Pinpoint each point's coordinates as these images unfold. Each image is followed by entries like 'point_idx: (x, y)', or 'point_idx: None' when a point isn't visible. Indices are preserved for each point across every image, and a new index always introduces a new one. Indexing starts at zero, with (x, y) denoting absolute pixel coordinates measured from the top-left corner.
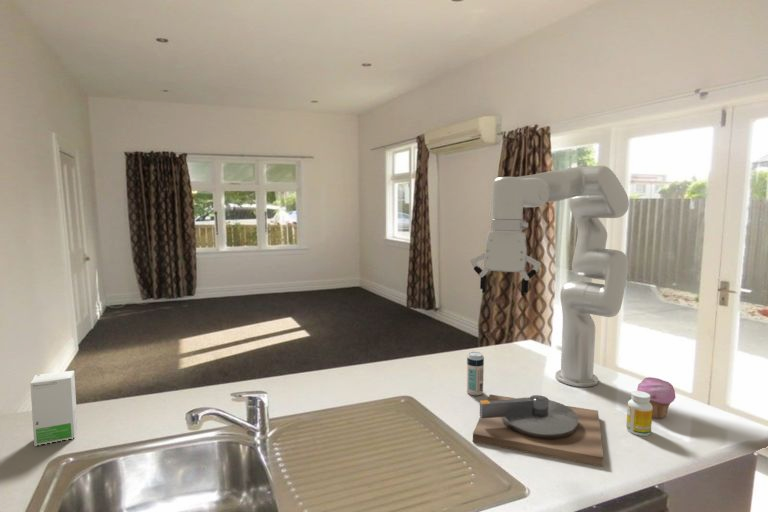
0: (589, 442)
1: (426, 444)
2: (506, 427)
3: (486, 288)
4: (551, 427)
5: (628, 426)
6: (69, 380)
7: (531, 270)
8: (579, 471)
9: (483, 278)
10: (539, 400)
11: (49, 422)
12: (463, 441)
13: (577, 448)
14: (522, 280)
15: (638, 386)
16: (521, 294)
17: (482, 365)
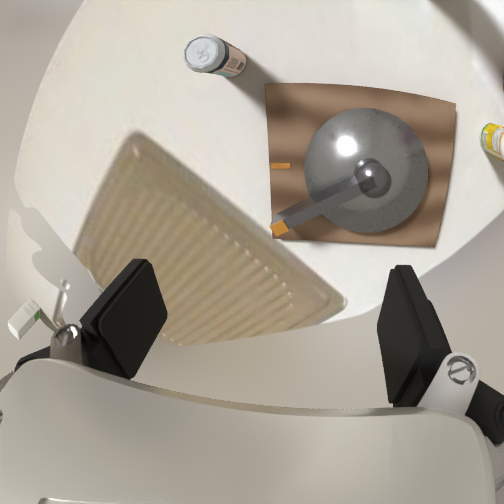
0: (429, 214)
1: (221, 255)
2: None
3: (146, 287)
4: (385, 220)
5: (483, 144)
6: (18, 331)
7: (487, 436)
8: (403, 257)
9: (122, 377)
10: (375, 188)
11: (33, 321)
12: (262, 235)
13: (411, 234)
14: (396, 398)
15: None
16: (378, 332)
17: (228, 58)
